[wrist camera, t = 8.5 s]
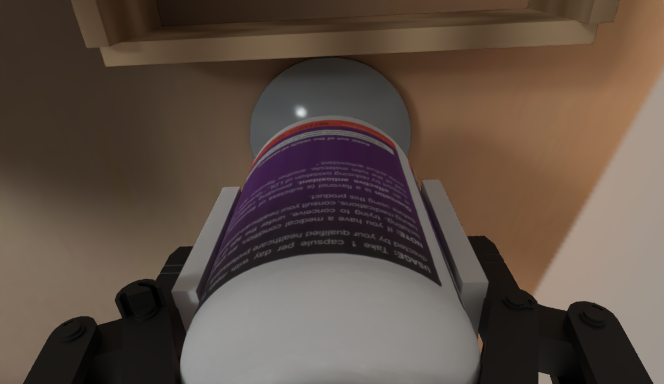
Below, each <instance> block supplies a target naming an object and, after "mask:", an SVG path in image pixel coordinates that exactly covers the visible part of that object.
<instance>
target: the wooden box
mask: <svg viewBox="0 0 664 384" xmlns="http://www.w3.org/2000/svg"><path fill="white" fill-rule="evenodd" d="M619 1H620V0H529V3H528V8H525V9H504V10H484V11H464V12H444V13H424V14H404V15H384V16H363V17H343V18H323V19H303V20H283V21H263V22H243V23H223V24H202V25H182V26H162V25H161V21H160V16H159V12H158V8H157V4H156V0H71V3H72V6H73V9H74V12H75V15H76V18H77V21H78V24H79V27H80V30H81V33H82V36H83V39H84V42H85V45H86V48H95V47H100V50H101V53H102V56H103V60H104V63H105V66H106V67H107V66H128V65H149V64H170V63H191V62H213V61H234V60H255V59H276V58H297V57H318V56H339V55H360V54H382V53H403V52H424V51H445V50H466V49H487V48H508V47H530V46H551V45H572V44H593V42H594V38H595V34H596V30H597V26H598V23H610V22H614V18H615V15H616V11H617V8H618V4H619Z"/></svg>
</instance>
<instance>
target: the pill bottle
mask: <svg viewBox="0 0 664 384" xmlns="http://www.w3.org/2000/svg"><path fill="white" fill-rule="evenodd" d="M481 369H482V361H481V355H480V349H479V345H478V341H477V338H476V335H475V333H474V330H473V327H472V324H471V320H470V318H469V316H468V314H467V311H466V309H465V306H464V304H463V301H462V299H461V296H460V293H459V291H458V288H457V286H456V283H455V280H454V278H453V276H452V273H451V270H450V268H449V265H448V263H447V260H446V257H445V255H444V252H443V250H442V247H441V244H440V242H439V239H438V237H437V234H436V232H435V229H434V226H433V224H432V221H431V218H430V216H429V213H428V210H427V208H426V205H425V202H424V200H423V197H422V195H421V192H420V189H419V186H418V184H417V181H416V178H415V175H414V172H413V170H412V167H411V165H410V163H409V161H408V159H407V157H406V155H405V154H404V152H403V151H402V149H401V148H400V147H399V146H398V144H397V143H396V142H395V141H394V140H393V139H392V138H391V137H390V136H388V135H387V134H386V133H385V132H383V131H382V130H380V129H379V128H377V127H375V126H373V125H371V124H369V123H367V122H365V121H362V120H359V119H355V118H351V117H346V116H336V115H327V116H316V117H311V118H307V119H304V120H301V121H298V122H296V123H293V124H291V125H289V126H287V127H286V128H284V129H282V130H281V131H279V132H278V133H277V134H275V135H274V136H273V137H272V138H271V139H270V140H269V141H268V142H267V143H266V144H265V145H264V147H263V148H262V149H261V151H260V152H259V154H258V155H257V157H256V159H255V160H254V162H253V164H252V167H251V169H250V171H249V174H248V177H247V179H246V182H245V185H244V188H243V190H242V193H241V195H240V198H239V201H238V203H237V206H236V208H235V211H234V213H233V216H232V218H231V221H230V224H229V226H228V229H227V231H226V234H225V237H224V239H223V242H222V244H221V247H220V250H219V252H218V255H217V257H216V260H215V263H214V265H213V268H212V270H211V273H210V276H209V278H208V281H207V283H206V286H205V288H204V291H203V293H202V296H201V298H200V301H199V303H198V306H197V308H196V311H195V313H194V316H193V318H192V321H191V324H190V327H189V330H188V333H187V335H186V338H185V341H184V345H183V349H182V354H181V361H180V380H181V384H479V382H480V376H481Z"/></svg>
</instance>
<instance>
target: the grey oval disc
mask: <svg viewBox="0 0 664 384" xmlns="http://www.w3.org/2000/svg"><path fill="white" fill-rule="evenodd" d="M327 115H336V116H346V117H351V118H355V119H359V120H362V121H365V122H367V123H369V124H371V125H373V126H375V127H377V128H379V129H380V130H382V131H383V132H385V133H386V134H387V135H388V136H390V137H391V138H392V139H393V140H394V141H395V142H396V143H397V144H398V146H399V147H400V148H401V149H402V151H403V152H404V154H405V155H406V157H408V153H409V150H410V144H411V124H410V118H409V115H408V112H407V108H406V106H405V104H404V102H403V100H402V98H401V96H400V94H399V93H398V91H397V90H396V88H395V87H394V86H393V85H392V83H391V82H390V81H389V80H388V79H387V78H386V77H385V76H383V75H382V74H381V73H380V72H378V71H377V70H375V69H374V68H372V67H371V66H369V65H366V64H364V63H362V62H360V61H357V60H353V59H350V58H344V57H338V56H324V57H315V58H311V59H307V60H304V61H301V62H299V63H296V64H294V65H292V66H290V67H289V68H287V69H285V70H284V71H282V72H281V73H280V74H279V75H277V76H276V77H275V78H274V79H273V80H272V81H271V82H270V83H269V84H268V85H267V87H266V88H265V90H264V91H263V92H262V94H261V96H260V98H259V100H258V102H257V103H256V105H255V108H254V111H253V114H252V118H251V123H250V145H251V149H252V153H253V156H254V159H256V157H257V155H258V154H259V152H260V151H261V149H262V148H263V147H264V145H265V144H266V143H267V142H268V141H269V140H270V139H271V138H272V137H273V136H274V135H275V134H277V133H278V132H279V131H281V130H282V129H284V128H286V127H287V126H289V125H291V124H293V123H296V122H298V121H301V120H304V119H307V118H311V117H316V116H327Z"/></svg>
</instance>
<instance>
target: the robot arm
mask: <svg viewBox="0 0 664 384" xmlns="http://www.w3.org/2000/svg"><path fill="white" fill-rule="evenodd" d="M240 195H241V189H240V187H223V188H222V190H221V192H220V195H219V197H218V199H217V201H216V203H215V205H214V207H213V209H212V211H211V213H210V215H209V217H208V219H207V221H206V223H205V225H204V227H203V229H202V231H201V233H200V235H199V237H198V239H197V241H196V243H195V245H194V246H188V247H179V248H178V249H177V250H175V251H174V252H173V253H172V254H171V255H170V256H169V258H168V260H167V261H166V263H165V266H164V267H163V268H162V270H161V272H160V274H159V276H158V277H157V279H156V281H155V280H153V279H143V280H137V281H135V282H132V283H130V284H128V285H127V286H125V287H124V288H122V289H121V290H120V291H119V292H118V294H117V295H116V298H115V302H116V305H117V307H118V309H119V312H120V314H121V316H122V318H121V319H118V320H115V321H112V322H108V323H104V324H100V325H97V324H96V322H95V320H94V319H93V318H91V317H89V316H80V317H76V318H73V319H70V320H68V321H66V322H64V323H62V324H61V325H60V326H58V327H57V328H56V329H54V331H53V332H52V333H51V335H50V336H49V337H48V339H47V341H46V343H45V345H44V346H43V348H42V350H41V352H40V354H39V355H38V357H37V359H36V361H35V363H34V365H33V366H32V368H31V370H30V372H29V374H28V375H27V377H26V379H25V381H24V383H23V384H181V380H180V361H181V354H182V349H183V345H184V341H185V338H186V335H187V333H188V330H189V327H190V324H191V321H192V318H193V316H194V313H195V311H196V308H197V306H198V303H199V301H200V298H201V296H202V293H203V291H204V288H205V286H206V283H207V281H208V278H209V276H210V273H211V270H212V268H213V265H214V263H215V260H216V257H217V255H218V252H219V250H220V247H221V244H222V242H223V239H224V237H225V234H226V231H227V229H228V226H229V224H230V221H231V218H232V216H233V213H234V211H235V208H236V206H237V203H238V201H239V198H240ZM421 195H422V197H423V200H424V202H425V205H426V208H427V210H428V213H429V216H430V218H431V221H432V224H433V226H434V229H435V232H436V234H437V237H438V239H439V242H440V244H441V247H442V250H443V252H444V255H445V257H446V260H447V263H448V265H449V268H450V270H451V273H452V276H453V278H454V280H455V283H456V286H457V288H458V291H459V293H460V296H461V299H462V301H463V304H464V306H465V309H466V311H467V314H468V316H469V318H470V320H471V324H472V327H473V330H474V333H475V335H476V338H477V339H478V334H480V337H481V339H482V342H483V347H482V352H481V361H482V369H481V376H480V382H479V384H538V372H541V373H545V374H549V375H550V377H551V380H552V384H653V382H652V380H651V379H650V377H649V375H648V373H647V371H646V369H645V368H644V366H643V364H642V362H641V360H640V359H639V357H638V355H637V353H636V351H635V350H634V348H633V346H632V344H631V342H630V340H629V339H628V337H627V335H626V333H625V331H624V330H623V328H622V326H621V324H620V322H619V321H618V319H617V318H616V317H615V315H614V314H613V313H612V312H610V311H609V310H607V309H606V308H604V307H602V306H600V305H597V304H595V303H591V302H586V301H582V302H581V301H580V302H575V303H573V304H571V305H570V306H569V308H568V310H567V311H564V310H559V309H554V308H550V307H546V306H542V305H540V304H538V303H537V301H536V300H535V298H534V297H533V296H532V295H530V294H529V293H527V292H526V291H523V290H521V289H520V288H519V287H518V285H517V283H516V281H515V280H514V278H513V276H512V274H511V272H510V271H509V269H508V267H507V265H506V264H505V263H504V260H503V258H502V257H501V255H500V253H499V251H498V249H497V248H496V246H495V244H494V243H493V242H491V241H490V240H489V239H488V238H486V237H485V236H466V234H465V232H464V230H463V228H462V225H461V223H460V221H459V219H458V217H457V215H456V213H455V211H454V209H453V207H452V205H451V202H450V200H449V198H448V196H447V194H446V192H445V190H444V188H443V186H442V184H441V182H440V180H439V179H429V180H422V187H421Z"/></svg>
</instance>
